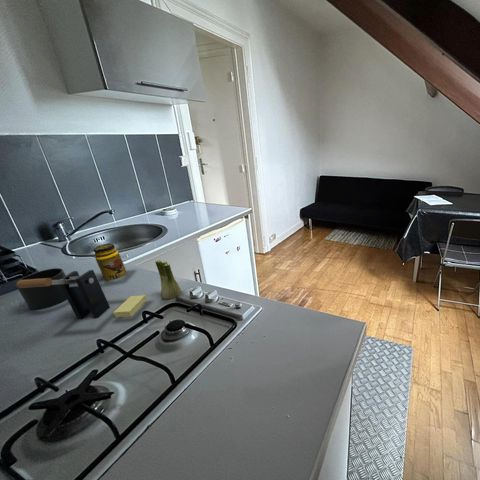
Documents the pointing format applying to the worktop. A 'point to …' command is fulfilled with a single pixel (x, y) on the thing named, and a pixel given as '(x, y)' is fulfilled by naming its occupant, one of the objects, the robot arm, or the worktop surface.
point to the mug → (43, 290)
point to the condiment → (109, 262)
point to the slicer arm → (46, 282)
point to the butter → (130, 306)
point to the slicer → (85, 295)
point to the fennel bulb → (167, 281)
